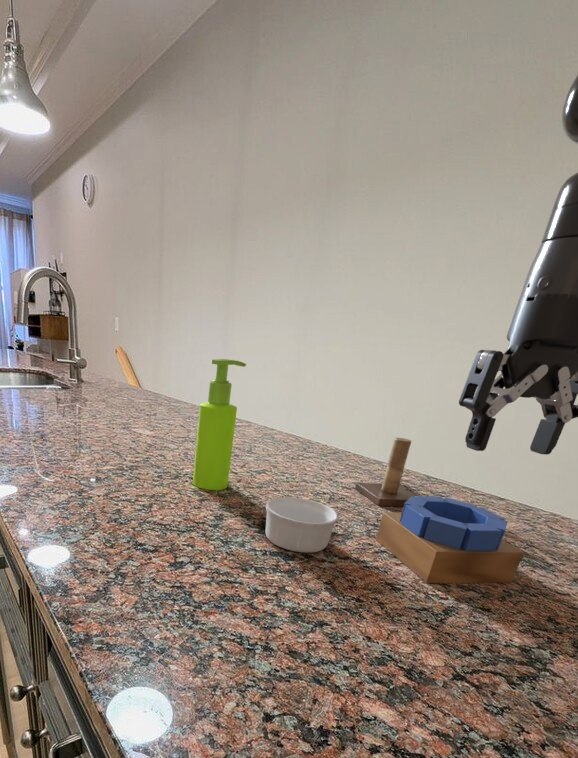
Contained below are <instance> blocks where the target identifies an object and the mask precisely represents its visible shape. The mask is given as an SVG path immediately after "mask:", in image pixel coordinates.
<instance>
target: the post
mask: <svg viewBox="0 0 578 758" xmlns="http://www.w3.org/2000/svg"><path fill="white" fill-rule="evenodd" d="M411 445H412V440H411V439H409V438H404V437H394V439H393V442H392V446H391V450H390V454H389V458H388V461H387V465H386V470H385V473H384V477H383V481H382V483H373V482H356V483H355V486H354V490H355V491H357V492H359V493H360V494H361V495H362V496H364V497H366V499H369V501H371V502H372V503H374V504H375V505H377V506H378V507H404V504H405V502H406V501H407V500H408V499H409V498H410V497H411V496H413V497H414V496H417V495H416V494H414V493H412V492H411V491H409V490H407V489H406V488H404V487H403V486H401V485H400V484H401V481H402V476H403V474H404V470H405V465H406V462H407V458H408V456H409V451H410V449H411Z"/></svg>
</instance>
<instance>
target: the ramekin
mask: <svg viewBox="0 0 578 758" xmlns="http://www.w3.org/2000/svg"><path fill="white" fill-rule="evenodd" d="M265 509H266V517H265V529H264V530H265V536H266V538H267V540H269V541H270V542H271V543H272V544H273V545H275V546H277V547H279V548H282V549H284V550H287V551H291V552H295V553H304V554H305V553H307V554H310V553H311V554H313V553H318V552H321V551H323V550H325V549H326V548H327V547H328V545H329V542H330V539H331V537H332V533H333V529H334V527H335V524H336V523H337V521H338V519H339V515H338V513H337V512H336V511H335V510H334V509H333V508H332V507H330V506H328V505H326V504H325V503H324V504H323V503H322V502H319V501H315V500H312V499H308V498H303V497H295V496H280V497H273V498H271V499H269V500H268V501H267V502H266V504H265Z"/></svg>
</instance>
